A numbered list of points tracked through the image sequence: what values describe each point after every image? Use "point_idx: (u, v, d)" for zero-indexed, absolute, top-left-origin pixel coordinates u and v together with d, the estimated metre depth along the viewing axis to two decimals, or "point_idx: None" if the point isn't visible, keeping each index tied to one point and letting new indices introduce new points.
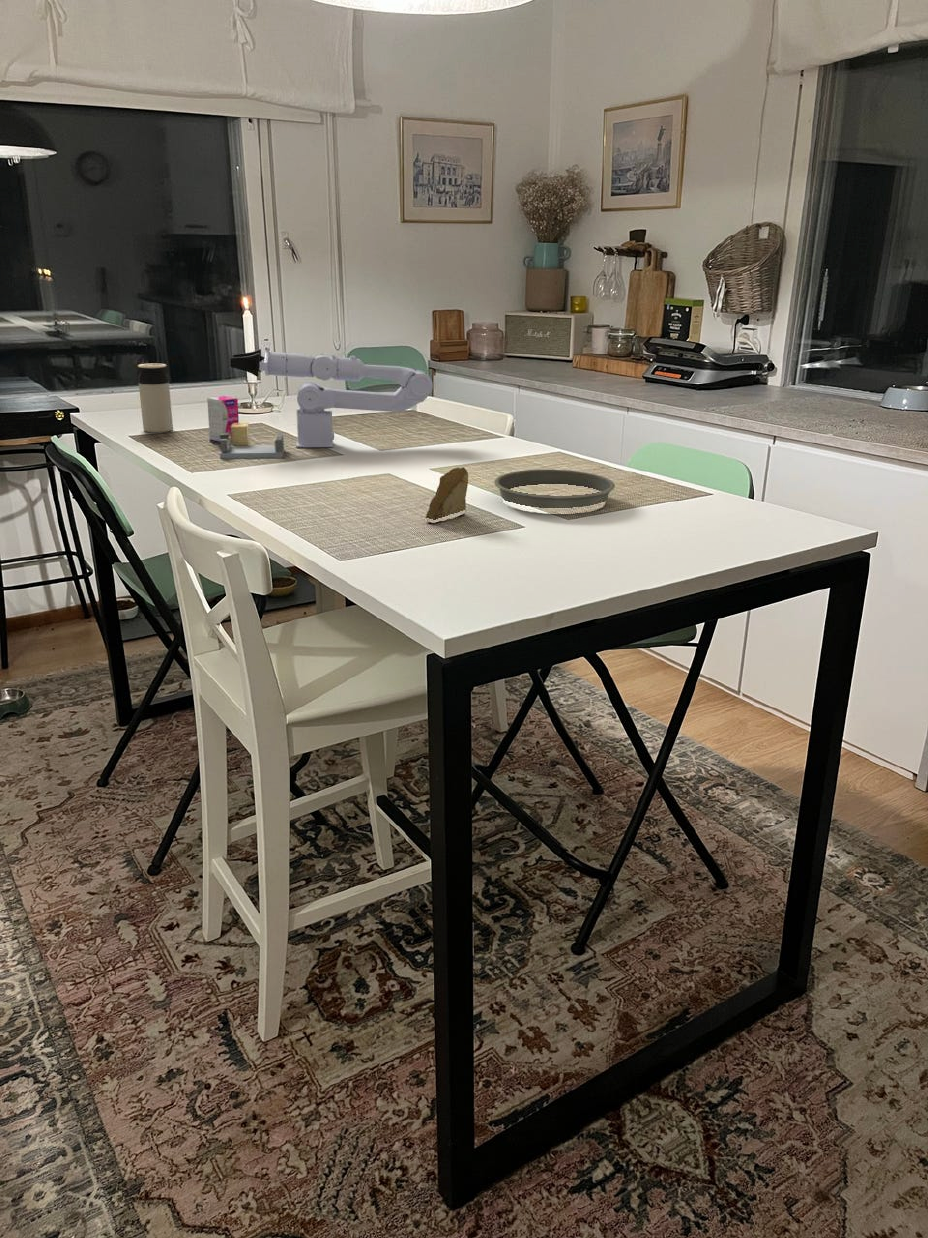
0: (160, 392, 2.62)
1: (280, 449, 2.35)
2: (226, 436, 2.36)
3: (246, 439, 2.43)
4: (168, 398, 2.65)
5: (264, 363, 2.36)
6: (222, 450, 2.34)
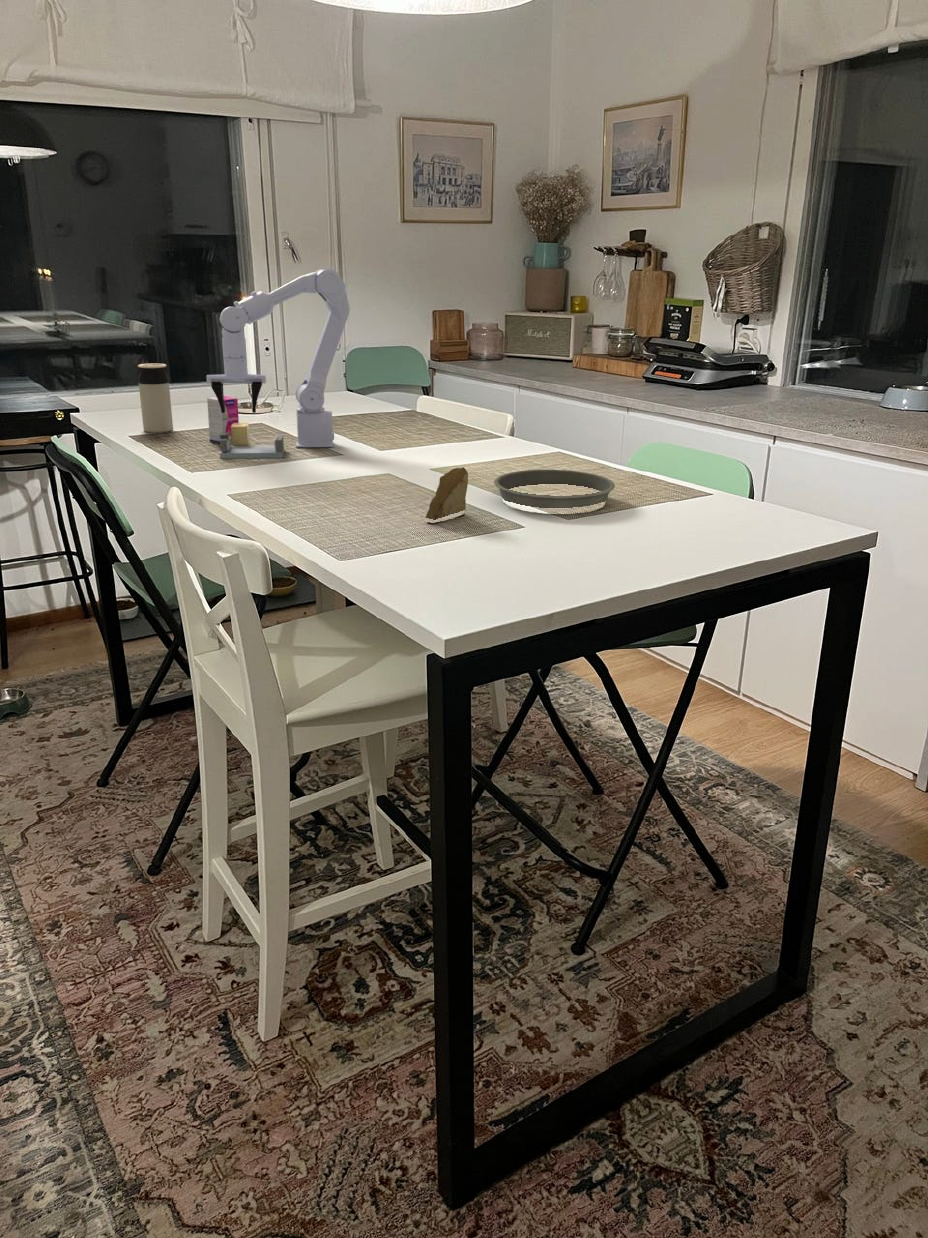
0: (160, 392, 2.62)
1: (280, 449, 2.35)
2: (226, 436, 2.36)
3: (246, 439, 2.43)
4: (168, 398, 2.65)
5: (265, 378, 2.41)
6: (222, 450, 2.34)
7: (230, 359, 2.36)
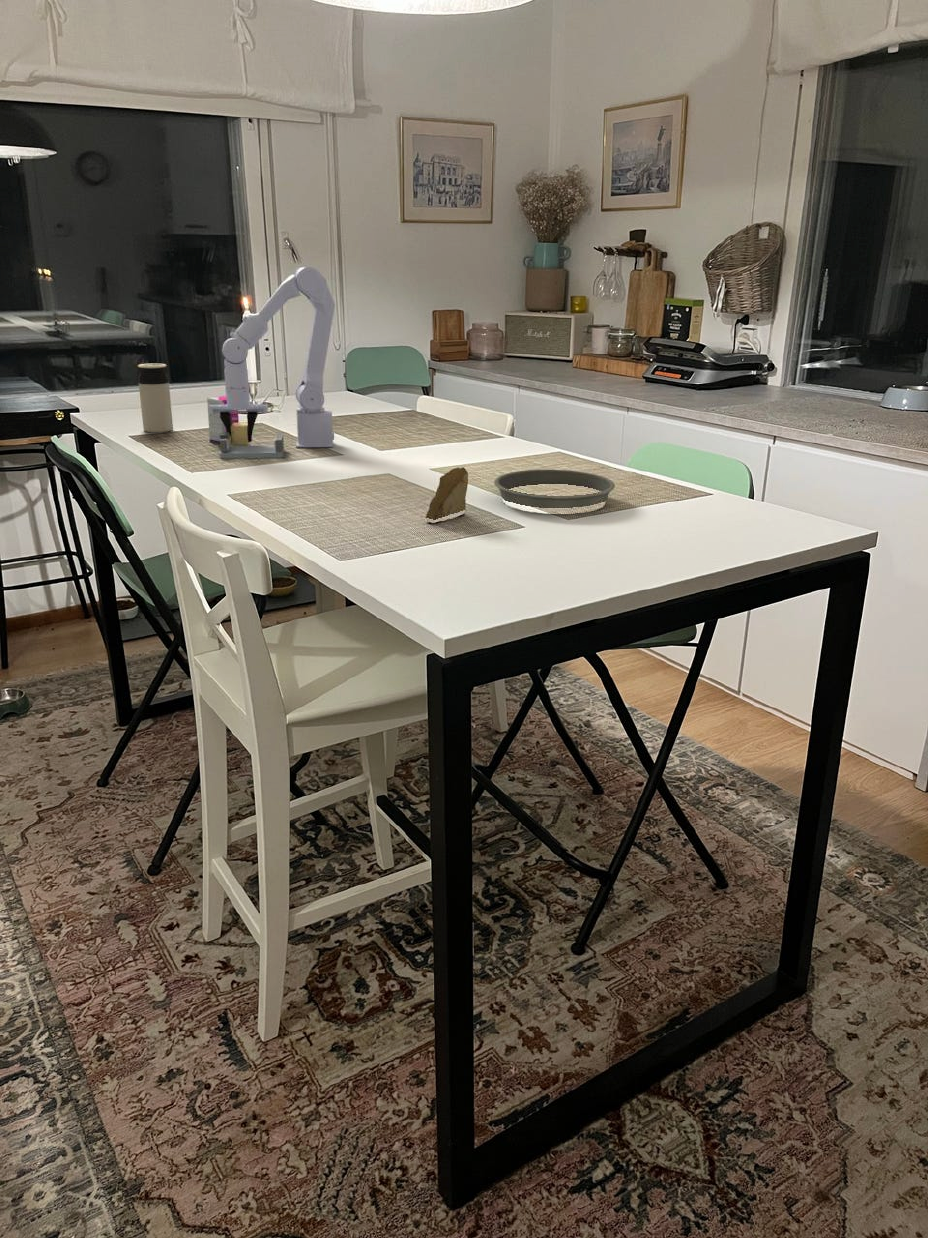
0: (160, 392, 2.62)
1: (280, 449, 2.35)
2: (226, 436, 2.36)
3: (246, 439, 2.43)
4: (168, 398, 2.65)
5: (267, 408, 2.43)
6: (222, 450, 2.34)
7: (232, 390, 2.39)
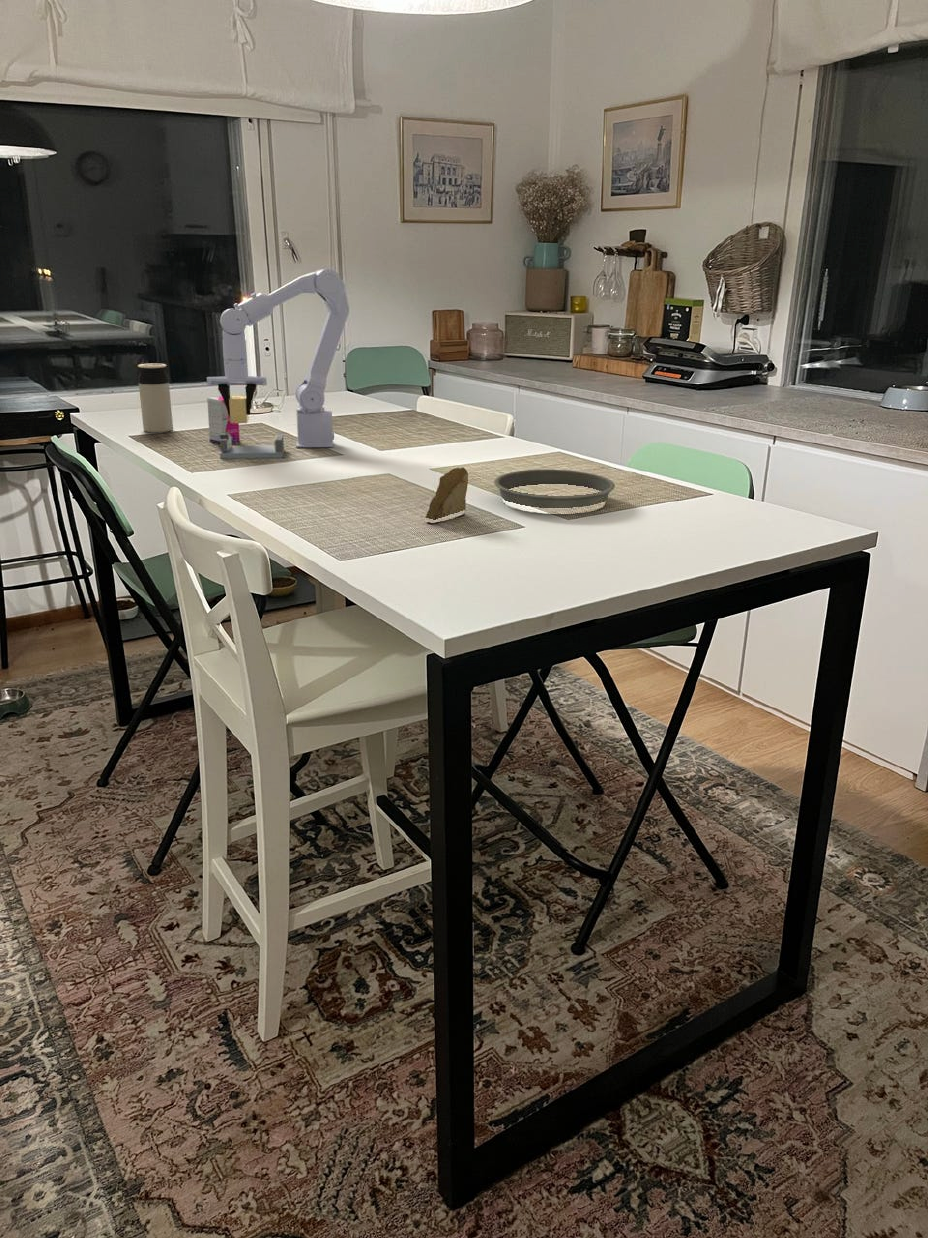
0: (160, 392, 2.62)
1: (280, 449, 2.35)
2: (226, 436, 2.36)
3: (244, 412, 2.41)
4: (168, 398, 2.65)
5: (265, 380, 2.41)
6: (222, 450, 2.34)
7: (230, 361, 2.36)
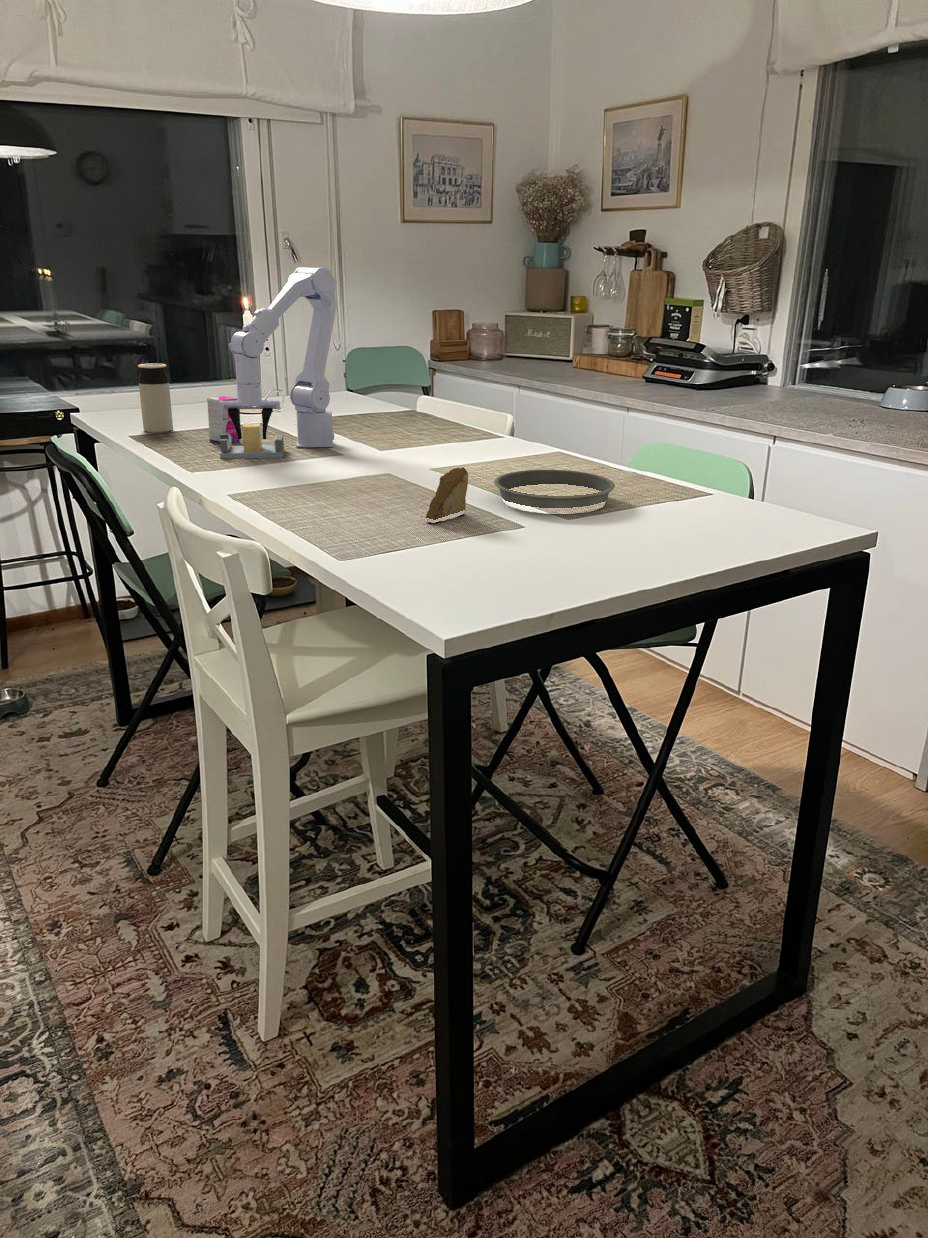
0: (160, 392, 2.62)
1: (280, 449, 2.35)
2: (226, 436, 2.36)
3: (258, 440, 2.36)
4: (168, 398, 2.65)
5: (279, 404, 2.35)
6: (222, 450, 2.34)
7: (244, 385, 2.31)
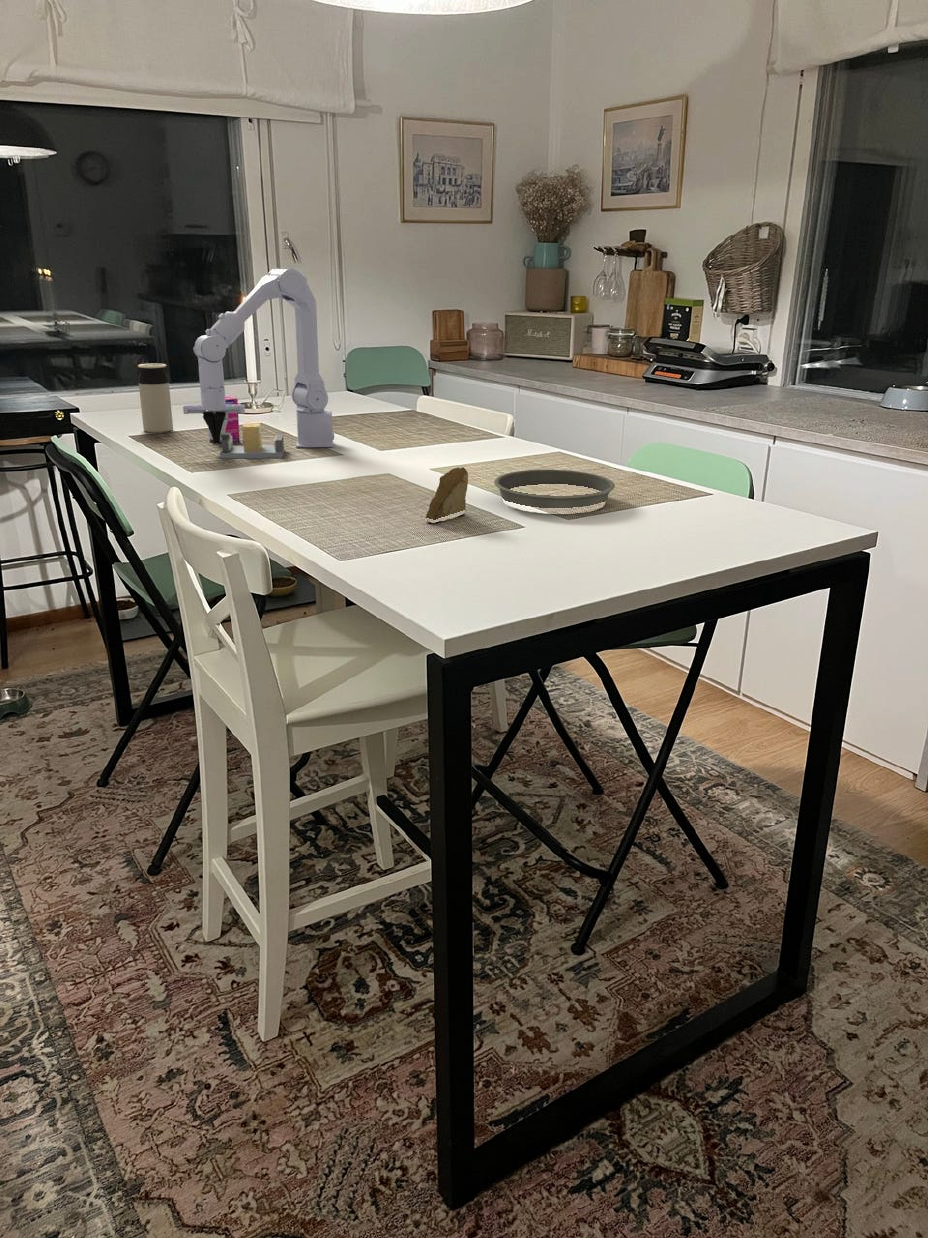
0: (160, 392, 2.62)
1: (280, 449, 2.35)
2: (227, 436, 2.36)
3: (258, 440, 2.36)
4: (168, 398, 2.65)
5: (243, 408, 2.34)
6: (223, 450, 2.34)
7: (207, 389, 2.30)
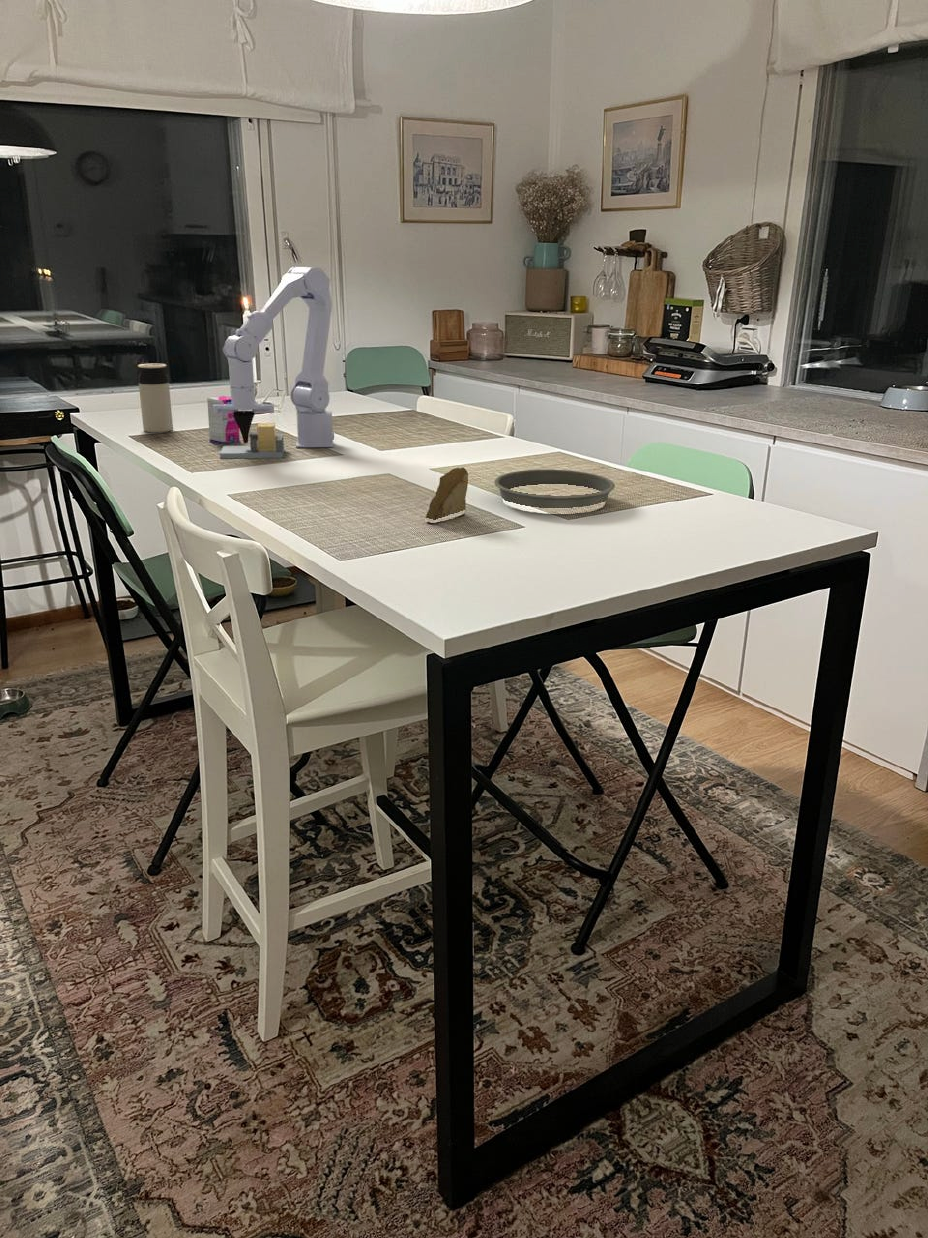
0: (160, 392, 2.62)
1: (280, 449, 2.35)
2: (256, 436, 2.36)
3: (273, 439, 2.36)
4: (168, 398, 2.65)
5: (273, 408, 2.35)
6: (252, 450, 2.35)
7: (237, 389, 2.31)
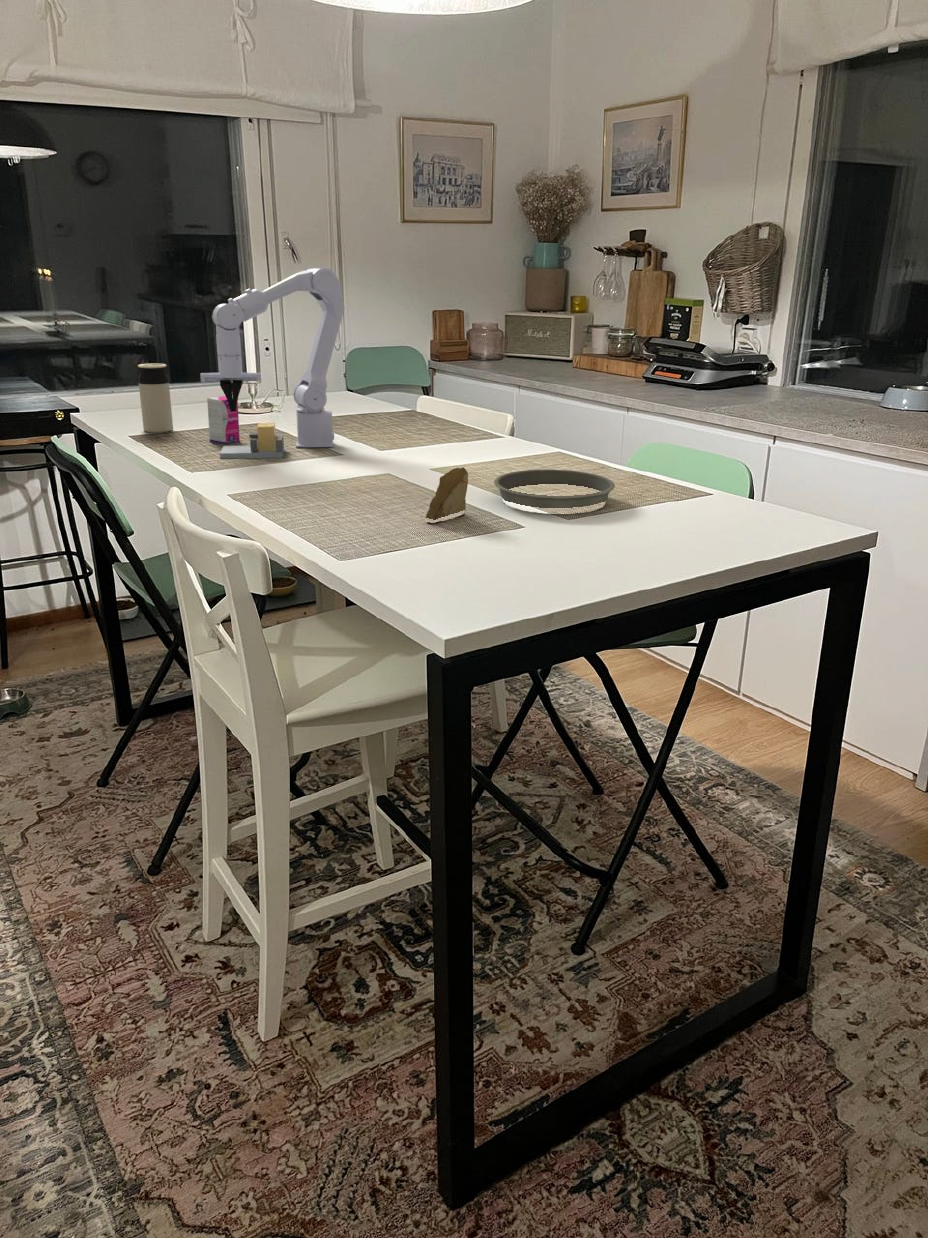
0: (160, 392, 2.62)
1: (280, 449, 2.35)
2: (256, 436, 2.36)
3: (273, 440, 2.36)
4: (168, 398, 2.65)
5: (260, 376, 2.37)
6: (252, 450, 2.35)
7: (224, 357, 2.33)
